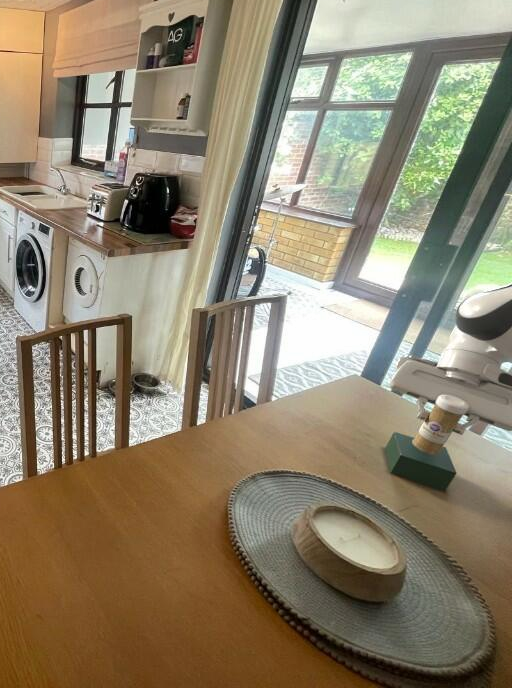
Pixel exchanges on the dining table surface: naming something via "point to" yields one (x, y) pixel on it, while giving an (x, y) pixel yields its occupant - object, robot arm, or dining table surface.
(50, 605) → the dining table surface
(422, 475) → the riser block
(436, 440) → the sprinkles bottle
